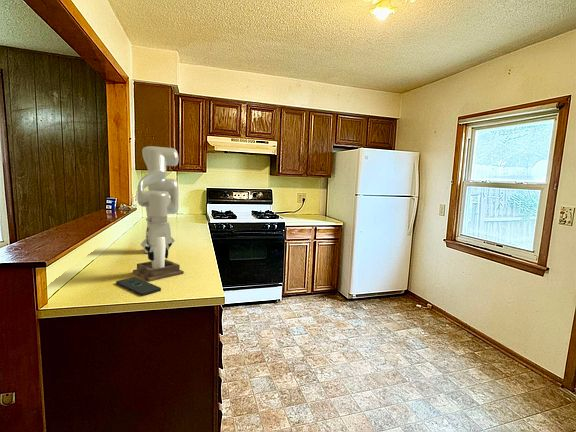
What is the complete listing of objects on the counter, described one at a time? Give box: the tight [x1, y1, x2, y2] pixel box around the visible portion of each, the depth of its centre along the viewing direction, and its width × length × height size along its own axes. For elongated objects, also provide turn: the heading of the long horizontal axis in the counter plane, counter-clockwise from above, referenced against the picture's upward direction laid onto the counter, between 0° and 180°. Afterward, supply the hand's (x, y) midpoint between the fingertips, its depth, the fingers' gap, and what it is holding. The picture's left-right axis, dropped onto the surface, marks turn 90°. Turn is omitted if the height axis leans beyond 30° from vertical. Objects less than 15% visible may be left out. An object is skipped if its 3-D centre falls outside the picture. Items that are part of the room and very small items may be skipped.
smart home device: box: [115, 276, 162, 297], centre depth 123 cm, size 8×2×20 cm
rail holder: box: [132, 258, 185, 282], centre depth 141 cm, size 16×16×4 cm
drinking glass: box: [150, 237, 166, 269], centre depth 140 cm, size 7×7×15 cm
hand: (158, 258), depth 140 cm, fingers closed on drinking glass, 6 cm apart
